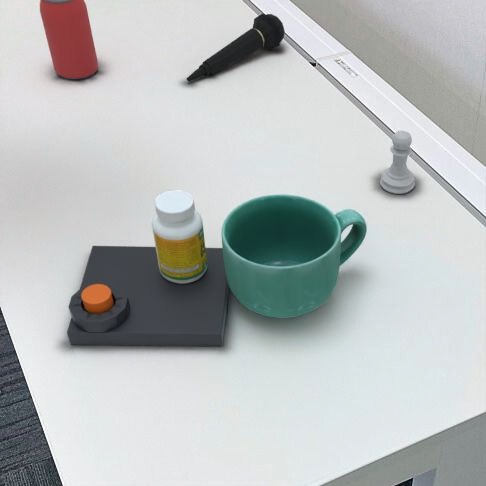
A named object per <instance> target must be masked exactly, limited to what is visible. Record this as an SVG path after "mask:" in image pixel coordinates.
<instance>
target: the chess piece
mask: <svg viewBox="0 0 486 486" xmlns="http://www.w3.org/2000/svg"><path fill="white" fill-rule="evenodd" d="M391 139H392V140H391V141H392V145H391V146H390V148H389V150H390V153H392V163H391V164H390V166H389V167H388V168H385V169H384V170H383V171H382V172H381V177H380V179H379V184H380V186H381V187H382V189H383V190H384V191H386V192H388V193H390V194H395V195H402V194H407V193H409V192H411V191H412V190H413V189H414V188H415V185H416V184H415V175H414V173H413V172H412V171H411V170H410V169H409V168H408V166H407V161H408V157H409V155H411V154H412V152H413V150H412V147H410V146H411V145H412V142H413V138H412V135H411V133H410V132H409V131H406V130H398V131H396V132H395V133H394V134H393V136H392V138H391Z"/></svg>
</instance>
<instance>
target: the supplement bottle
mask: <svg viewBox="0 0 486 486" xmlns="http://www.w3.org/2000/svg"><path fill="white" fill-rule="evenodd" d="M195 205H196V204H195V199H194V197H193V195H191V194H190V193H189V192H187V191H185V190H181V189H171V190H166V191H164V192H161V193H160V194H159V195H158V196H157V197H156V198H155V200H154V208H155V214H154V215H153V217H152V220H151V221H152V222H151V229H152V234H153V240H154V247H156V252H157V258H158V265H159V269H160V272H161V274H162V276H163V277H164V278H166V279H167V280H169V281H171V282H174V283H179V284H185V283H190V282H193V281H196V280H198V279H199V278H201V277H202V276H203V275H204V273H205V272H206V270H207V258H206V249H205V248H206V239H205V232H204V230H205V229H204V223H203V222H204V221H203V218H202V216H201V213H200V212H199V211H198V210H196V206H195Z"/></svg>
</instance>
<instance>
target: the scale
mask: <svg viewBox="0 0 486 486" xmlns="http://www.w3.org/2000/svg"><path fill="white" fill-rule="evenodd" d="M205 249H206V258H207V270H206V272H205V273H204V275H203V276H202V277H201V278H199V279H198V280H196V281H193V282H190V283H185V284H179V283H174V282H171V281H169V280H167V279H166V278H164V277H163V276H162V274H161V272H160V269H159V265H158V258H157V252H156V246H133V245H132V246H129V245H128V246H125V245H92V247H91V250H90V253H89V257H88V261H87V264H86V267H85V270H84V273H83V277H82V280H81V285H80V287H79V290H77V291H76V292H75V293H74V294H73V295H71V296H70V300H69V303H68V310H69V313H70V321H69V324H68V327H67V331H66V335H67V337H68V341H69V343H70V345H71V346H72V345H73V346H74V345H76V346H77V345H78V346H161V347H163V346H165V347H166V346H167V347H168V346H174V347H175V346H176V347H223V346H224V337H225V329H226V328H225V327H226V320H227V310H228V302H229V301H228V300H229V291H230V287H229V284H228V281H227V277H226V272H225V266H224V258H223V248H222V247H205ZM95 284H102V285H106V286H107V287H109V288H110V290H111V293H112V298H113V302H114V303H113V306H112V308H111V309H110V310H109V311H107V312H104V313H101V314H92V313H89V312H87V311H86V310H85V308H84V304H83V301H82V297H81V295H82V292H83V290H84V289H85V288H87V287H89V286H91V285H95Z"/></svg>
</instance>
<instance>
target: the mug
mask: <svg viewBox="0 0 486 486" xmlns="http://www.w3.org/2000/svg"><path fill="white" fill-rule="evenodd" d="M221 227H222V228H221V248H223V258H224V266H225V272H226V277H227V281H228V284H229V290H230V291H231V292H232V294H233V295H234V298H236V299H237V301H238V302H239V303H240V304H241V305H243V306H244V307H245V308H247V309H248V310H250V311H252V312H254V313H256V314H259V315H262V316H265V317H270V318H276V319H277V318H278V319H284V318H285V319H287V318H289V319H290V318H295V317H299V316H303V315H305V314H308V313H310V312H313V311H315V310H316V309H317V308H319V307H321V306H322V305H323V304H324V303H325V302H326V301H327V300H328V299H329V298H330V296H331V295H332V294H333V292H334V290H335V288H336V285H337V284H338V283H337V282H338V279H339V273H340V267H341V266H342V265H344V264H345V263H346V262H347V261H348V260H349V259H350V258H351V257H352V256H353V255H354V254H355V253H356V252H357V250H358V249H359V248H360V247H361V245H362V244H363V242H364V240H365V238H366V235H367V230H368V228H367V222H366V220H365V218H364V217H363V215H362V214H361V213H359V212H358V211H356V210H355V209H352V208H346V209H342V210H340V211H338V212H336V213H335V214H334V213H333V211H331V210H330V209H329V208H328V207H327V206H325V205H324V204H322V203H320V202H319V201H316V200H314V199H311V198H308V197H305V196H300V195H295V194H286V193H285V194H284V193H283V194H269V195H262V196H258V197H254V198H252V199H249V200H246V201H244V202H243V203H241V204H239V205H237V206H236V207H235V208H233V209H232V210H231V211H230V212H229V214H228V215H227V216H226V217H225V219H224V221H223V223H222V226H221ZM348 227H351V229H350V231H348V234H347V235H346V237H344V239H342V234H343V232H344V231H345V230H346V229H347V228H348Z"/></svg>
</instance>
